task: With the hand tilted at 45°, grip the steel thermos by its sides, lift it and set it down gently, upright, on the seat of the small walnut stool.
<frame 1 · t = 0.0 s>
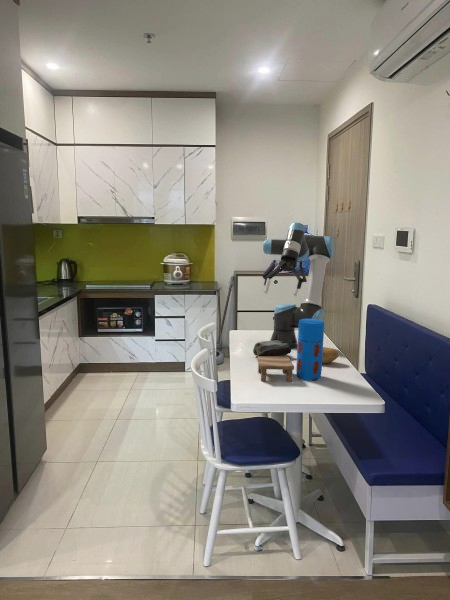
hand: (279, 293, 190), 36 cm above the table, tool tilted 35°, fingers open, 13 cm apart
thermos: (308, 377, 191), on the table
rock: (271, 358, 219), on the table
potato: (323, 363, 212), on the table
stool: (274, 376, 190), on the table
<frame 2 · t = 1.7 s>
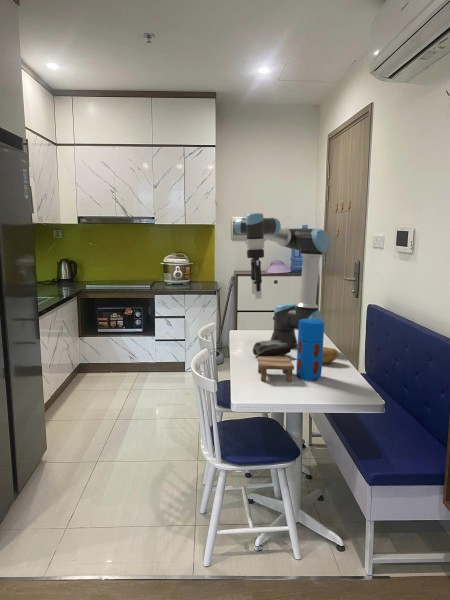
hand: (256, 296, 195), 34 cm above the table, tool pointing down, fingers open, 13 cm apart
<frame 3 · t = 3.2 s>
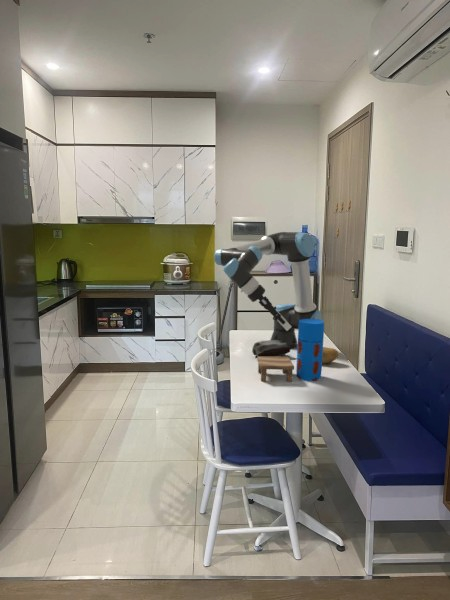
hand: (286, 325, 187), 23 cm above the table, tool tilted 45°, fingers open, 13 cm apart
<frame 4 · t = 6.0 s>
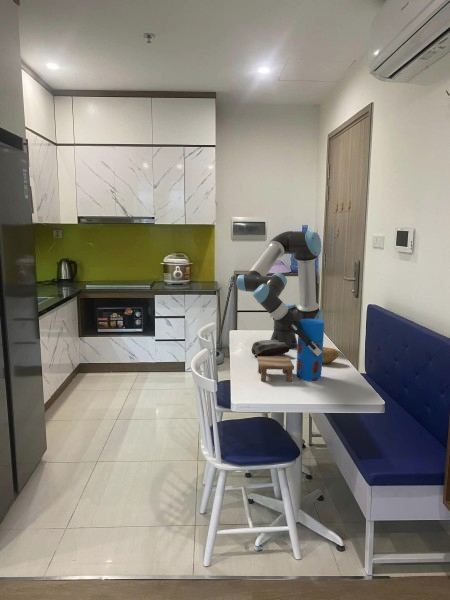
hand: (316, 350, 189), 12 cm above the table, tool tilted 45°, fingers closed on thermos, 11 cm apart
thermos: (308, 377, 191), on the table, touching gripper
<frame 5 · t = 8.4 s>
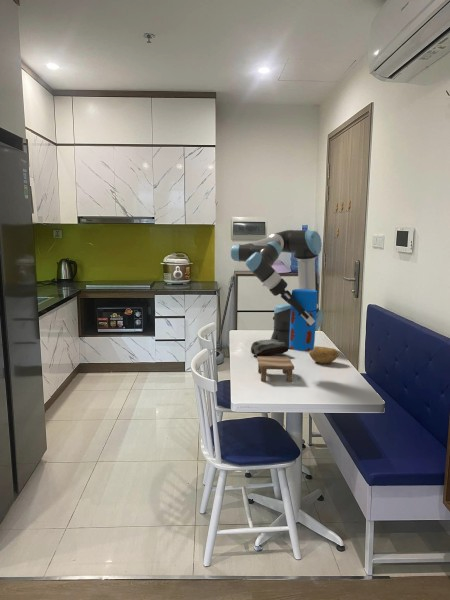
hand: (309, 320, 186), 25 cm above the table, tool tilted 45°, fingers closed on thermos, 11 cm apart
thermos: (301, 348, 188), point 13 cm above the table, touching gripper
when the fingers open (21 cm above the table, at t = 10.7 s): thermos drops 2 cm, resting on stool.
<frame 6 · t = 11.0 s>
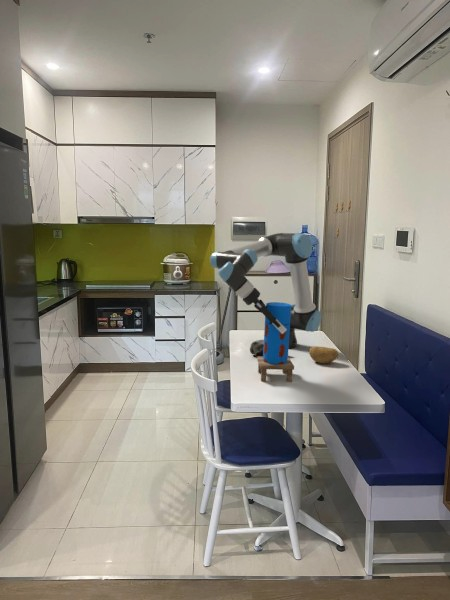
hand: (281, 328, 187), 22 cm above the table, tool tilted 45°, fingers open, 13 cm apart
thermos: (275, 361, 189), point 7 cm above the table, touching stool
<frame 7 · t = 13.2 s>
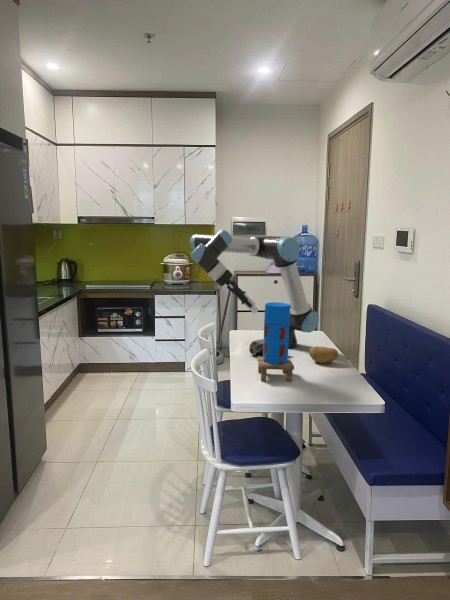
hand: (254, 308, 190), 29 cm above the table, tool tilted 45°, fingers open, 13 cm apart
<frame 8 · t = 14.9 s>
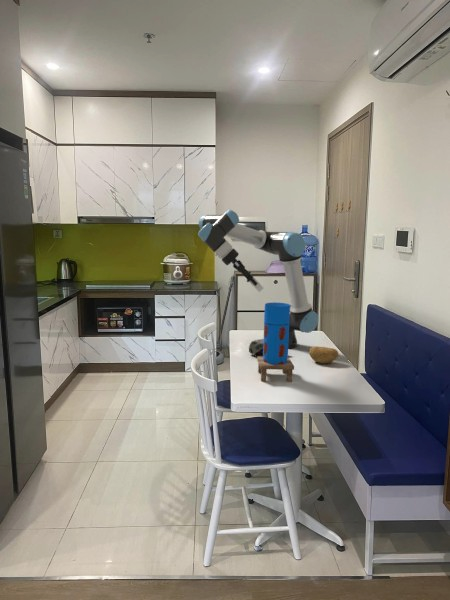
hand: (259, 288, 194), 38 cm above the table, tool tilted 45°, fingers open, 13 cm apart
at the end: thermos inside the target area on the stool (0.1 cm from its centre), point 6.8 cm above the stool's base; thermos tilted 0°; the gripper is holding nothing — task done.
